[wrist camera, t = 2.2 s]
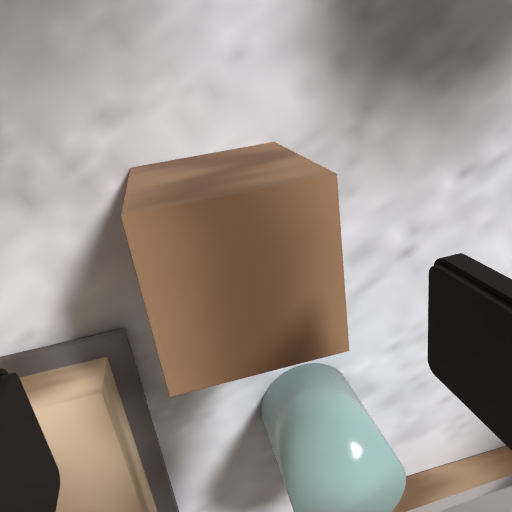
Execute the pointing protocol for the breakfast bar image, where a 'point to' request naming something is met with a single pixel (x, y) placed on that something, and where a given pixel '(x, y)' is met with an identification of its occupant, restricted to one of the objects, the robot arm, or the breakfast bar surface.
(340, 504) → the teal capsule
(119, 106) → the breakfast bar surface
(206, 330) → the walnut block
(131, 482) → the plinth
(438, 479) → the mug tray
